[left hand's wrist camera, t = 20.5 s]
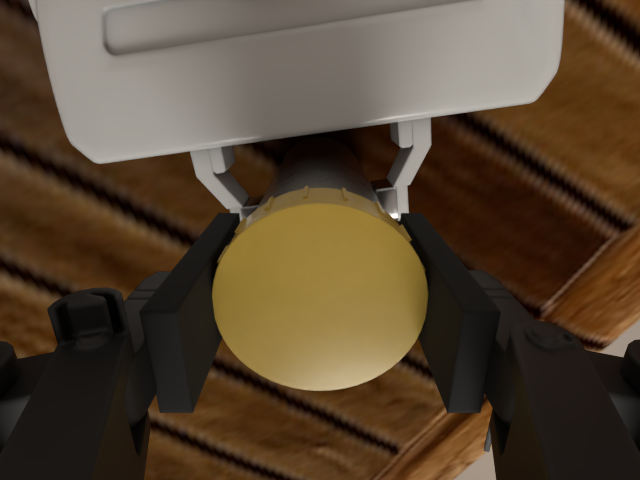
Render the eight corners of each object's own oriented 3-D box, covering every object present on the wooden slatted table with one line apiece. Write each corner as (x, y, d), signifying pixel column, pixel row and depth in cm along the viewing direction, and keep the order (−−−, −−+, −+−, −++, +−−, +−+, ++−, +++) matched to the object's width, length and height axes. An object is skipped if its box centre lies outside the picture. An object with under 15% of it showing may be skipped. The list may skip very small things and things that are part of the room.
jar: (279, 217, 26) (232, 366, 12) (277, 135, 24) (219, 201, 10) (358, 219, 26) (403, 369, 12) (364, 137, 24) (424, 205, 10)
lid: (453, 295, 12) (471, 324, 11) (303, 386, 13) (300, 422, 12) (342, 141, 10) (346, 150, 9) (182, 264, 12) (162, 289, 10)
